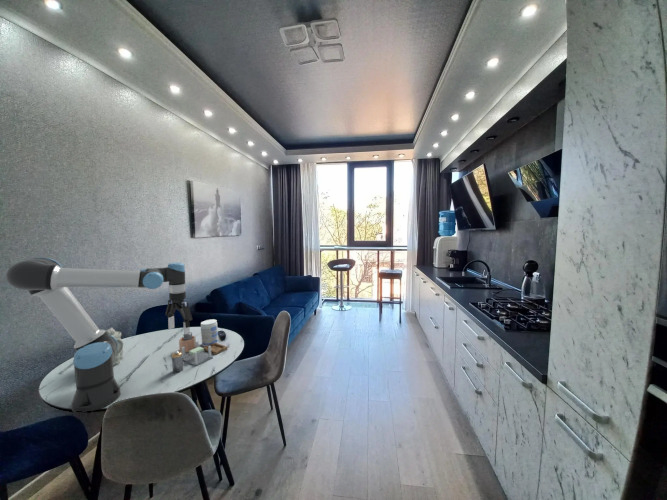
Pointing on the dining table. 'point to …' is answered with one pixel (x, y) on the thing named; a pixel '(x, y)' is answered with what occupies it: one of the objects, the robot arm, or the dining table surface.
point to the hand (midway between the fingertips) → (179, 330)
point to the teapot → (119, 351)
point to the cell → (177, 362)
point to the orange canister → (187, 342)
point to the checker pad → (196, 350)
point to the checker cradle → (196, 356)
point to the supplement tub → (209, 332)
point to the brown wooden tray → (216, 348)
